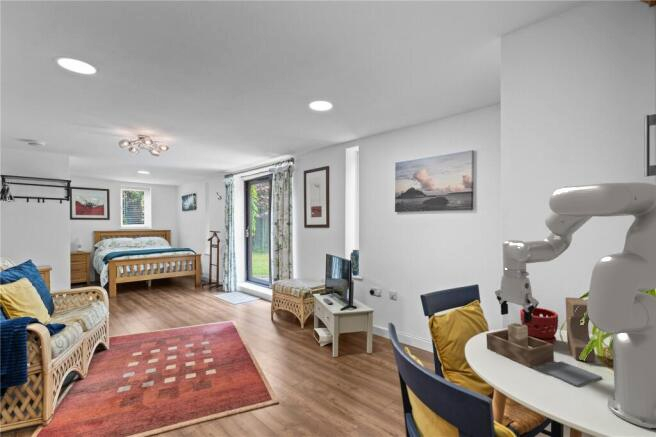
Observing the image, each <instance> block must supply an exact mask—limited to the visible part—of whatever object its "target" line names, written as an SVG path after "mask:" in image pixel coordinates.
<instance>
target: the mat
mask: <svg viewBox="0 0 656 437" xmlns="http://www.w3.org/2000/svg"><path fill="white" fill-rule="evenodd" d="M537 371H540V372H541V373H544V374H546V375H549V376H551V377H553V378H555V379H557V380H560V381H562V382H565V383H567V384H569V385H572V386H573V387H576V388H577V387H581V386H583V385H587V384H589V383H592V382H595V381H598V380H600V379H601V380H602V379H603V378H602V376H601V375H598V374H596V373H594V372H590V371H588V370H586V369H583V368H580V367H579V366H575V365H573V364H570V363H568V362H565V361H561V360H560V361H558V362H554V363H551V364H547V365H544V366H541V367H540V366H539V367H538V368H537Z"/></svg>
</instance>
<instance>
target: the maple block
mask: <svg viewBox="0 0 656 437" xmlns="http://www.w3.org/2000/svg"><path fill="white" fill-rule="evenodd" d="M507 329H508V340H509V341H510V342H512V343H515V344H517V345H520V346H523V347H525V348H528V331H527V326H525V325H522V323H518V322H513V323H510V324H509V323H508V324H507Z"/></svg>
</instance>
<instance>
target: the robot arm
mask: <svg viewBox="0 0 656 437" xmlns="http://www.w3.org/2000/svg"><path fill="white" fill-rule="evenodd" d="M548 205H549V208H550V210H551V211H552V212H550V213H549V215H548V216H547V217H546V218H545V226H546V227H547V229H548V230H549V231H550V232H551V233H550V234H548V236H547V237H546V238H545V239H543V240H533V241H522V240H516V239H514V240H513V239H511V240H510V239H509V240H505V241H503V242H502V268H503V270H502V272H503V273H502V274H503V275H502V276H501V280H500V289H497V290H495V291H494V294H495V296H496V300H497V301H498V304H499V305H500V315H502V316H505V315H508V314H509V304H508V303H511V304H515V305H517V306H521V307H522V309H523V308H524V309H525V311H524V322H525V323H528V322H531V321H532V315H533V314H532V311H534V309H536V308H538V305H539V303H540V302H539V301H538V300H537V299H536V298H535V297H534V296H533V293H532V286H531V282H530V278H529V277H528V276H529V275H530V274H529V272H528V271H527V264H534V263H535V264H536V263H543V262H544V263H545V262H546V263H547V262H551V261H554V260H555V259H556V258H558V257H559V256H561V255H562V254H563V253H564V252H566V251H567V250H568V249H569V247H570V245H571V243H572V240H573V235H574V234H575V233H576V232H577V231H579V229H580V228H581V227H583V226H584V225H585V224H586V223H587V222H588V221H589V220H591V219H592V218H593V217H609V218H610V217H624V216H626V217H627V216H628V217H629V216H633V217H634V221H633V222H632V223H631V225H630V226H629V228H628V230H627V232H626V235H625V240H624V246H623V249H622V252H621V253H612V254H608V255H605V256H603V257H602V258H601V257H600V259H599V260H598V261H597V262H596V263H595V265H594V267H593V269H592V272H591V273H592V274H591V277H590V283H589V290H588V297H587V301H586V302H587V313H588V317H589V319H590V320H589V322H591V324H592V325H593V326H594V327H595V328H596V329H598V330H599V331H601V332H603V333H606V334H610V335H611V334H612V335H613V336H612V359H613V360H612V362H613V363H612V364H613V379H614V380H613V384H614V397H610V398H609V399H607V407H608V409H609V410H610V411H611V412H612V413H613V414H614V415H615V416H617V417H619V418H621V419H622V420H625V421H627V422H629V423H632V424H634V425H637V426H638V427H639V426H640V427H643V428H647V429H651V428H656V296H654V295H653V294H650V293H648V292H644V291H651V290H654V289H656V184H653V183H648V182H637V181H636V182H606V183H604V182H602V183H595V184H585V185H584V184H583V185H572V186H570V185H569V186H568V185H567V186H562V187H559V188H558V189H555V191H553V193H552V194H551V196H550V197H549V201H548Z"/></svg>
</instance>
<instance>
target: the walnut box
mask: <svg viewBox="0 0 656 437" xmlns="http://www.w3.org/2000/svg"><path fill="white" fill-rule="evenodd" d="M486 349H487V350H489V349H490V350H489V351H491V352H493V353H495V352H496V353H495V354H498V355H500V356H503V357H505V358H507V359H509V360H512V361H514V362H515V363H518V364H521V365H522V366H526V367H527V368H530V369H532V368H536V367H540V366H542V365H545V364H549V363H553V362H554V361H555V356H554V355H555V353H554V352H555V351H554V344H553V343H548V342H545V341H542V340H539V339H536V338H533V337H531V336H528V348H525V347H523V346H520V345H517V344H515V343H512V342H510V341H509V340H508V328H507V329H502V330H501V329H500V330H497V331H493V332H488V333H486Z"/></svg>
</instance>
